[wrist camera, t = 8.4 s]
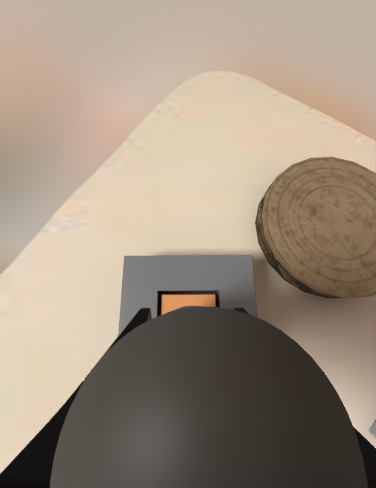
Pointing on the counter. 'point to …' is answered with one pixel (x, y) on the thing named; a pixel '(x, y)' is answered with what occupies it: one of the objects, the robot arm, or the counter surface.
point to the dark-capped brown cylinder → (207, 411)
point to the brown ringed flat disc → (322, 227)
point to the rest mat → (373, 429)
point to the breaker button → (186, 301)
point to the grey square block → (185, 282)
